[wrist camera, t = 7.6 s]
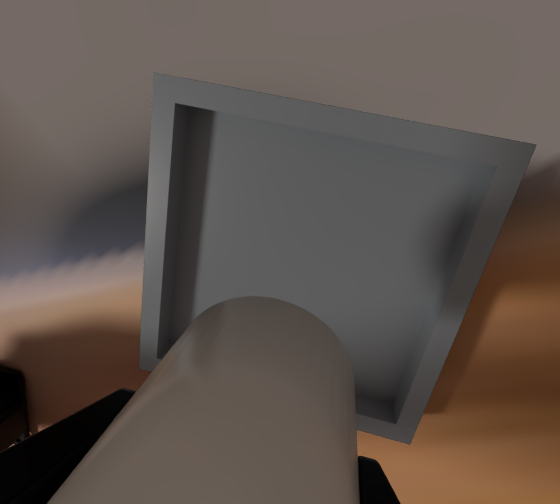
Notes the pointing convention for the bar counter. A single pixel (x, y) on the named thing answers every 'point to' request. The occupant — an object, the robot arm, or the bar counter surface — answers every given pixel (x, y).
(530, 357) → the bar counter surface
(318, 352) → the ceramic cup
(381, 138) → the tray
